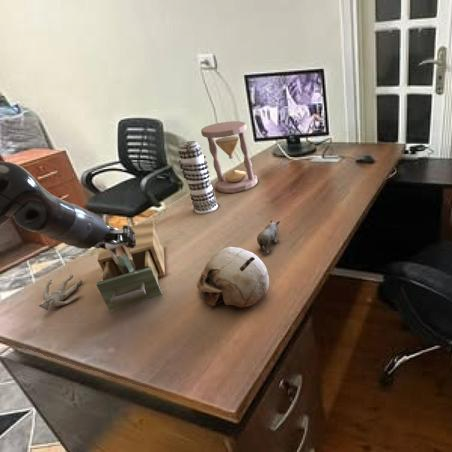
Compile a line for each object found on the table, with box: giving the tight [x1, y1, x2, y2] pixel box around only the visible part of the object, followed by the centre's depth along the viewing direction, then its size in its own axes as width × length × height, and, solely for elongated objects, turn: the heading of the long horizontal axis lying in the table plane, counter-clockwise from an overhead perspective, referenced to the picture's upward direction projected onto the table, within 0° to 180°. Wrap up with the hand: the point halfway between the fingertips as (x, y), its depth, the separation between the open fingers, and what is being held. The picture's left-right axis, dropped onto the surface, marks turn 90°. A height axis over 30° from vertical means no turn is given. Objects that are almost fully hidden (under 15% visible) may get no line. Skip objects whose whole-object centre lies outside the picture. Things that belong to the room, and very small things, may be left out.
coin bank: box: [196, 246, 270, 309], centre depth 83 cm, size 16×17×13 cm
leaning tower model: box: [176, 140, 219, 214], centre depth 126 cm, size 9×9×25 cm
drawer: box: [95, 249, 163, 312], centre depth 87 cm, size 19×12×8 cm, turn 25°
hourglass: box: [200, 120, 259, 194], centre depth 145 cm, size 18×18×25 cm
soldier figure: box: [38, 274, 83, 311], centre depth 89 cm, size 8×5×12 cm
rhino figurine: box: [256, 219, 281, 255], centre depth 105 cm, size 4×14×6 cm, turn 167°
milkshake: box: [105, 236, 136, 274], centre depth 84 cm, size 5×5×10 cm
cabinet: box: [97, 220, 166, 278], centre depth 97 cm, size 16×13×10 cm
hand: (122, 245), depth 85 cm, fingers closed on milkshake, 4 cm apart
